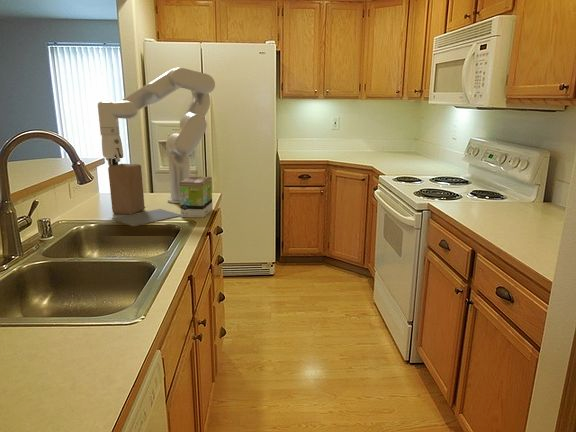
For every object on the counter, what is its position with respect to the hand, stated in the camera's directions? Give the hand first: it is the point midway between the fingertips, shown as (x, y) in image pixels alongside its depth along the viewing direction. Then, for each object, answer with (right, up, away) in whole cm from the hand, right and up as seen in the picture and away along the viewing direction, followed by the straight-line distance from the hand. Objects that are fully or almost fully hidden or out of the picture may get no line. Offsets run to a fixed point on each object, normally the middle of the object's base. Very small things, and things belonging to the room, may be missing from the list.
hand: (114, 174), depth 189 cm
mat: (+18, -19, -12) cm, 29 cm away
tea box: (+37, -17, -5) cm, 41 cm away
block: (+7, -16, -3) cm, 18 cm away
